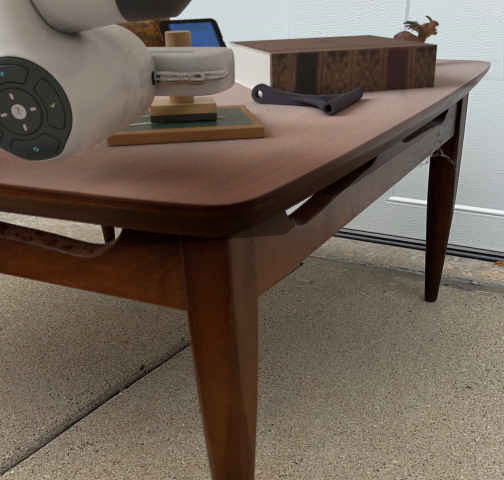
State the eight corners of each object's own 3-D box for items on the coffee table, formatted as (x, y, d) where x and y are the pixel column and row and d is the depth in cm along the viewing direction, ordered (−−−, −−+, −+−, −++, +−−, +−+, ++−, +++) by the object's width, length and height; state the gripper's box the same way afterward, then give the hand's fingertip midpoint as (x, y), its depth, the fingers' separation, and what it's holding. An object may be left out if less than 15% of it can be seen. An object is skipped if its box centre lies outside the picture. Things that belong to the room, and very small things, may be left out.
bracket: (271, 95, 109) (271, 76, 107) (363, 99, 103) (364, 79, 102) (232, 111, 97) (231, 90, 96) (333, 116, 91) (334, 94, 90)
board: (107, 146, 77) (106, 134, 77) (111, 120, 92) (110, 110, 91) (264, 137, 80) (264, 126, 79) (244, 113, 94) (244, 103, 94)
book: (433, 86, 113) (437, 44, 110) (272, 98, 106) (272, 53, 103) (367, 70, 134) (369, 34, 132) (229, 79, 127) (228, 41, 124)
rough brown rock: (67, 66, 160) (58, -4, 153) (83, 52, 174) (76, -12, 167) (166, 67, 160) (163, -3, 152) (175, 54, 174) (172, -11, 167)
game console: (195, 70, 141) (192, 22, 137) (159, 65, 151) (156, 20, 147) (253, 63, 150) (253, 18, 146) (216, 59, 159) (214, 17, 156)
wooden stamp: (150, 123, 83) (143, 34, 78) (150, 115, 87) (143, 31, 83) (217, 119, 84) (213, 31, 79) (213, 112, 88) (209, 29, 84)
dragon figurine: (411, 61, 146) (414, 14, 142) (435, 63, 143) (440, 15, 139) (374, 68, 137) (377, 18, 134) (399, 70, 134) (403, 18, 130)
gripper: (219, 39, 56) (247, 27, 69) (-13, 40, 59) (53, 29, 72) (222, 117, 59) (248, 92, 71) (-1, 114, 62) (61, 91, 74)
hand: (148, 60), depth 72 cm, fingers open, 8 cm apart
